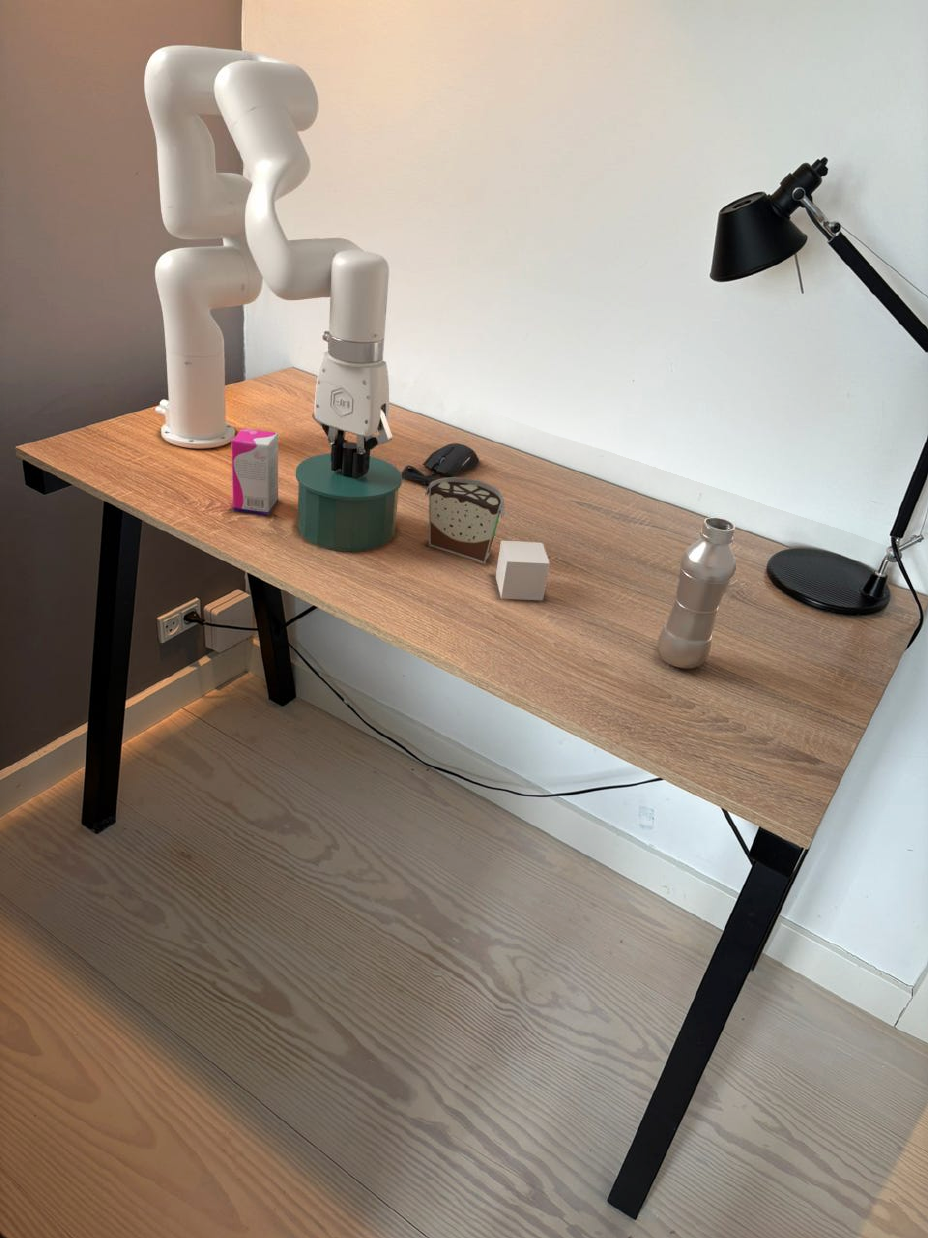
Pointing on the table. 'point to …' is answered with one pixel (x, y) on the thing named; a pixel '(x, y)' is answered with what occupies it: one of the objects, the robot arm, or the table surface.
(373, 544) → the tin
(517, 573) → the white cube
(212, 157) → the robot arm
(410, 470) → the computer mouse
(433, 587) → the table surface
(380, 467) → the tin lid
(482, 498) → the food container
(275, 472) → the supplement box
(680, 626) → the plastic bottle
